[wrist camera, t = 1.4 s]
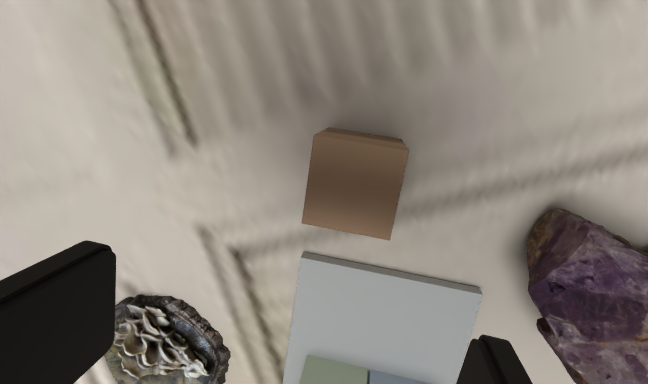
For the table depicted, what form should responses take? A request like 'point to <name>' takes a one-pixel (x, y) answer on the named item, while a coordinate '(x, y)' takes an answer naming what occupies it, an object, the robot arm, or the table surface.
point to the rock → (590, 299)
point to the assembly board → (379, 320)
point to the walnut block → (354, 182)
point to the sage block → (331, 372)
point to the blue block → (389, 379)
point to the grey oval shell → (165, 344)
